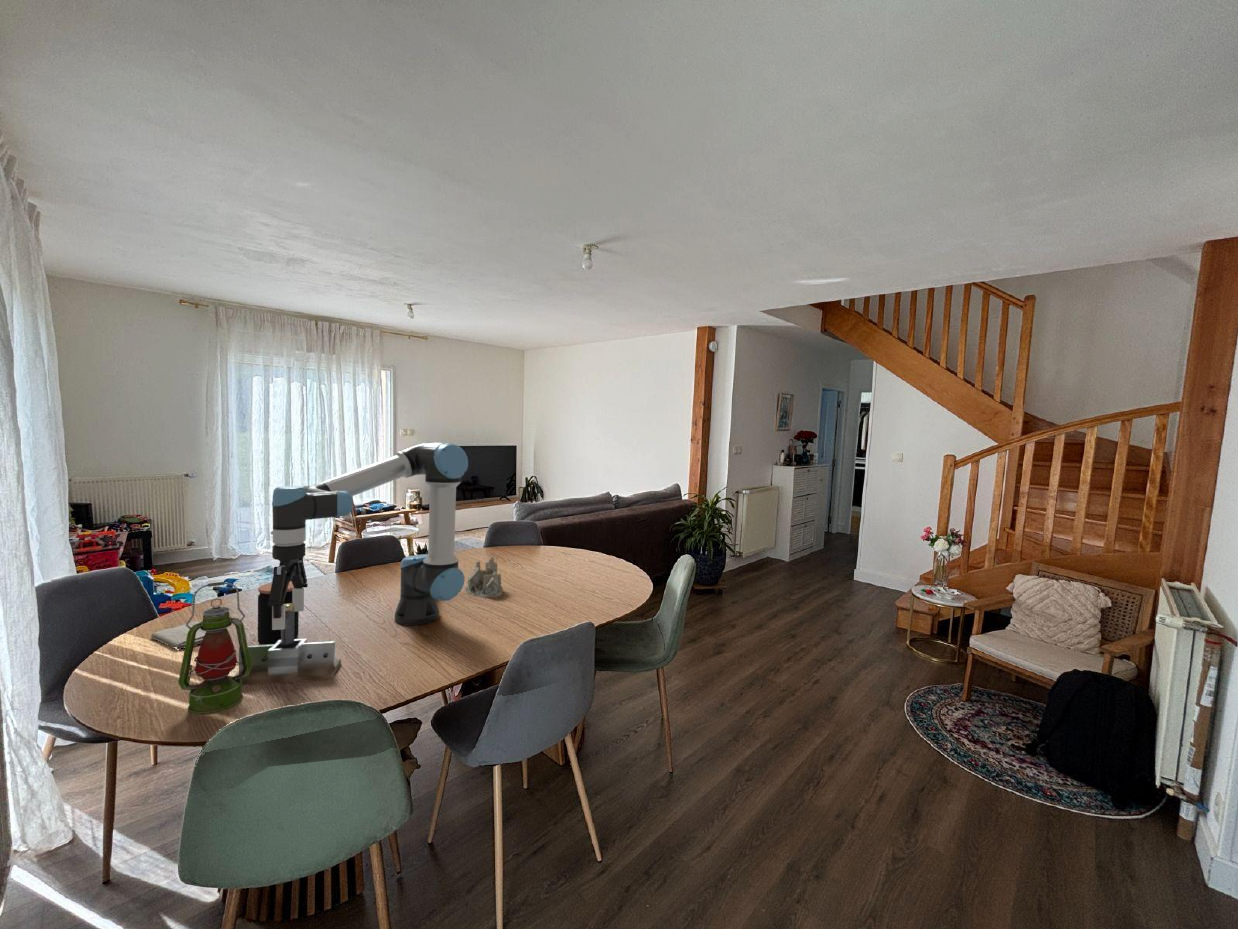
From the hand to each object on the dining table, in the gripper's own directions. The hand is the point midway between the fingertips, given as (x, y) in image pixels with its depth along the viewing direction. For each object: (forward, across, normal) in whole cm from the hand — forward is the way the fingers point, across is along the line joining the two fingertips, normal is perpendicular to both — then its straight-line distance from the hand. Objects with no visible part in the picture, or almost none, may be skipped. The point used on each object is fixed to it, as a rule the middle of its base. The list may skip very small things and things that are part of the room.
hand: (288, 619), depth 137 cm
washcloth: (+16, -31, -39) cm, 52 cm away
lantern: (+16, +14, -11) cm, 23 cm away
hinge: (+14, 0, 0) cm, 14 cm away
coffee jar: (+16, -24, -11) cm, 31 cm away
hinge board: (+15, 0, 0) cm, 15 cm away
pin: (+14, 0, 0) cm, 14 cm away
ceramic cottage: (+16, -68, +51) cm, 87 cm away
